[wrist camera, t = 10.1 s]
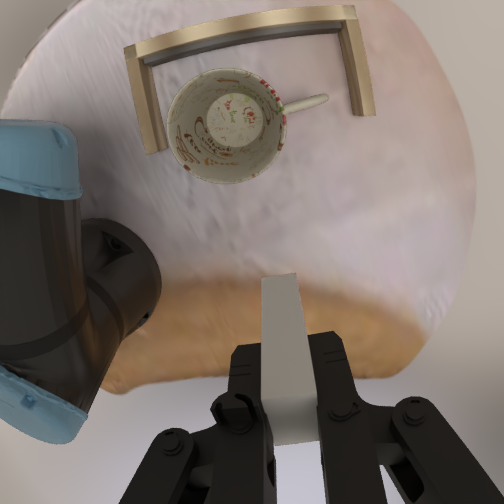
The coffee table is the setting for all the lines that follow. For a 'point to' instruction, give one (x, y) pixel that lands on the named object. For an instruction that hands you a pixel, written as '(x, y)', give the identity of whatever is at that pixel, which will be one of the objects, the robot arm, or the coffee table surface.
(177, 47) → the bay
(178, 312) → the coffee table surface
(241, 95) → the mug
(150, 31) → the coffee table surface
